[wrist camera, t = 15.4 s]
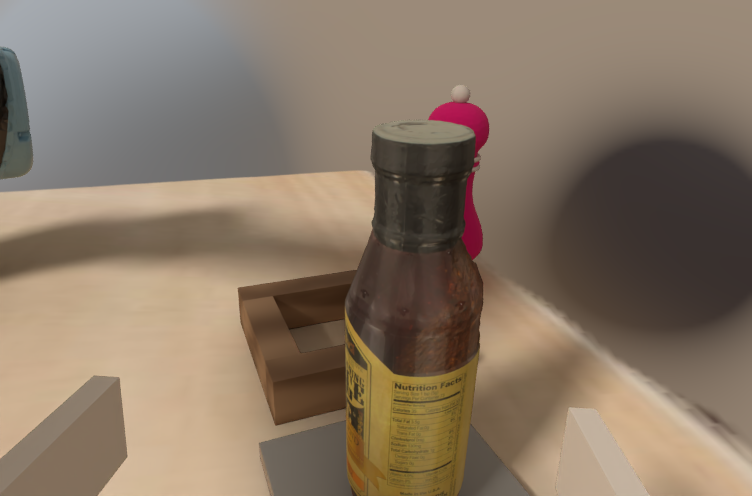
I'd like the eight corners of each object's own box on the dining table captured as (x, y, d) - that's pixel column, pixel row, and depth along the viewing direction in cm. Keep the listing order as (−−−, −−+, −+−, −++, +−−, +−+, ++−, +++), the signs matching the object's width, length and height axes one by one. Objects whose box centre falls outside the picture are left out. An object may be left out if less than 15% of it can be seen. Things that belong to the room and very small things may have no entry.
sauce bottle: (360, 441, 32) (364, 109, 24) (463, 458, 31) (502, 116, 23) (331, 535, 26) (323, 135, 18) (457, 561, 25) (507, 147, 17)
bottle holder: (240, 322, 46) (237, 287, 45) (384, 297, 52) (385, 265, 50) (275, 425, 35) (272, 382, 33) (457, 379, 40) (461, 340, 38)
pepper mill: (474, 265, 59) (495, 82, 52) (481, 295, 53) (506, 90, 45) (411, 261, 60) (422, 79, 52) (410, 290, 53) (423, 87, 45)
